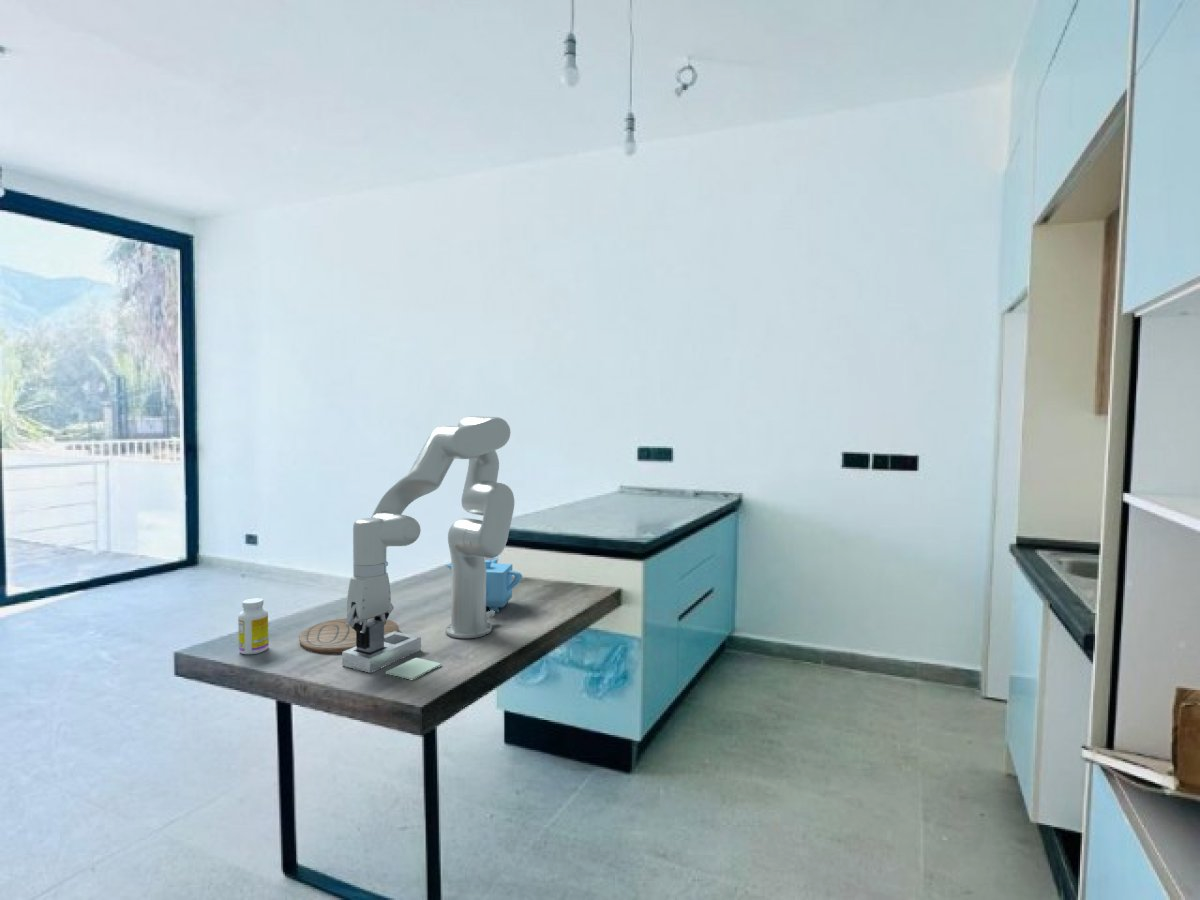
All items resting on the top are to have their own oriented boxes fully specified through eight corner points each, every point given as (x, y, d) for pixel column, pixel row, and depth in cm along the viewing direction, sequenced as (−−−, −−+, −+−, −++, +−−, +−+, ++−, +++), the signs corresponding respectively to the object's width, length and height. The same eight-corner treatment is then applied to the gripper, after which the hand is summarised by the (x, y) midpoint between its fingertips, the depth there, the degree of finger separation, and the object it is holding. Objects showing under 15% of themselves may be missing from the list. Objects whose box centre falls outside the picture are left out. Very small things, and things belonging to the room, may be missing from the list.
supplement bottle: (273, 645, 168) (272, 596, 167) (260, 655, 161) (260, 604, 160) (247, 645, 167) (246, 596, 167) (233, 655, 161) (232, 604, 160)
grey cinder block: (394, 644, 170) (394, 631, 170) (420, 650, 166) (420, 636, 166) (342, 666, 155) (342, 651, 155) (369, 673, 151) (369, 658, 151)
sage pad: (416, 659, 160) (416, 657, 160) (441, 666, 156) (441, 663, 156) (385, 674, 151) (385, 671, 151) (411, 680, 147) (411, 678, 147)
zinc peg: (370, 658, 160) (370, 618, 159) (383, 662, 158) (383, 621, 157) (356, 664, 156) (356, 623, 155) (370, 668, 154) (369, 626, 154)
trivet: (395, 619, 192) (395, 613, 191) (401, 648, 168) (401, 641, 168) (302, 628, 182) (302, 621, 182) (295, 660, 159) (295, 652, 159)
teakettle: (526, 608, 203) (526, 562, 203) (472, 619, 191) (473, 570, 191) (495, 595, 218) (495, 552, 217) (443, 604, 206) (444, 559, 205)
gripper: (384, 561, 165) (384, 631, 166) (330, 575, 150) (330, 652, 151) (407, 564, 162) (407, 636, 163) (353, 579, 147) (353, 658, 148)
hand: (370, 643), depth 157 cm, fingers closed on zinc peg, 4 cm apart
